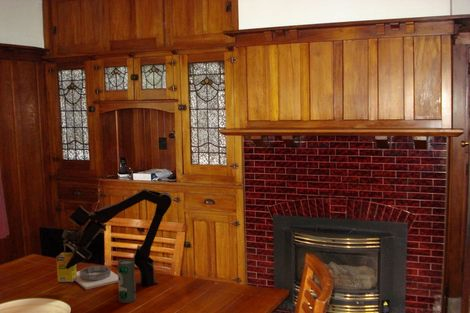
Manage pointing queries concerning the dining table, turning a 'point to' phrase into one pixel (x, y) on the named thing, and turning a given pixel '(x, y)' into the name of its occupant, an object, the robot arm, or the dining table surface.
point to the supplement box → (65, 269)
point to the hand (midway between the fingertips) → (63, 265)
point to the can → (126, 281)
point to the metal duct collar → (95, 277)
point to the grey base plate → (93, 284)
